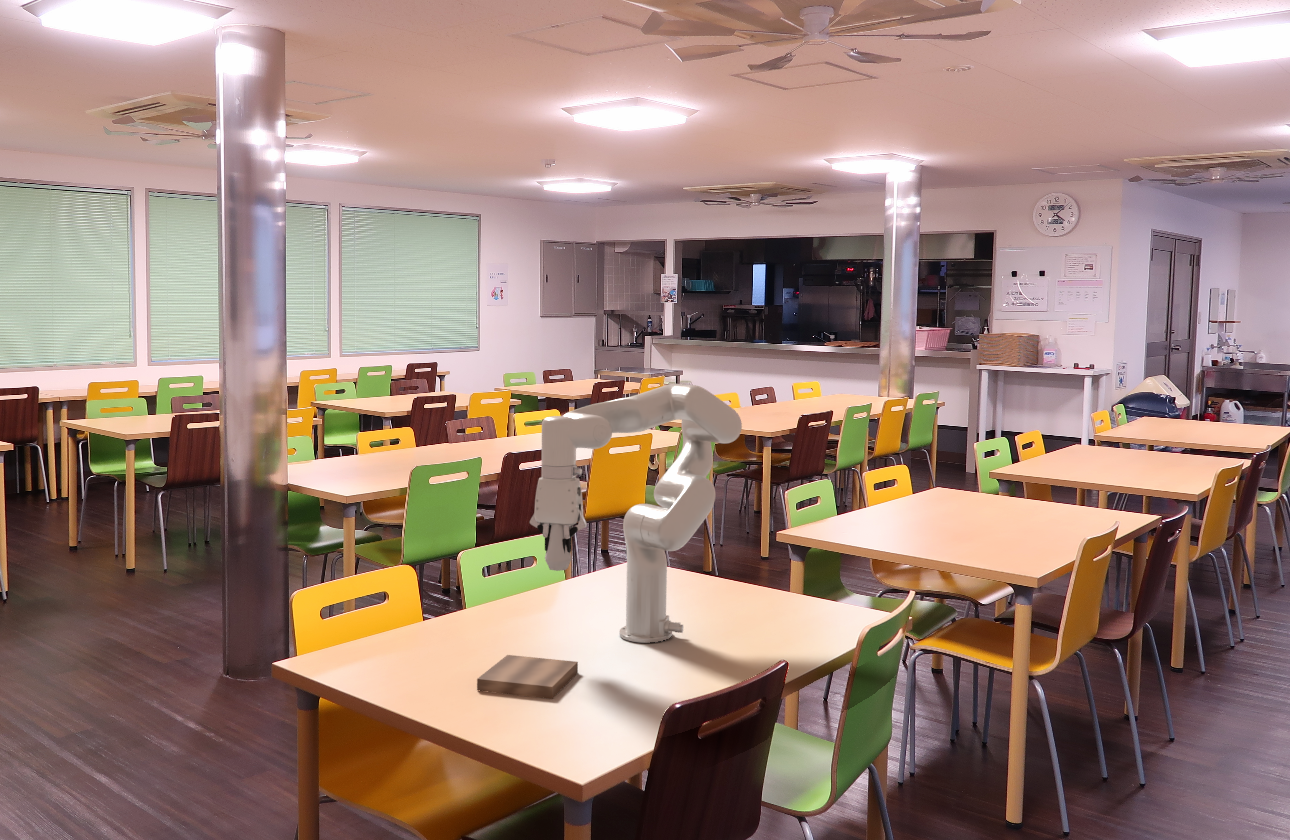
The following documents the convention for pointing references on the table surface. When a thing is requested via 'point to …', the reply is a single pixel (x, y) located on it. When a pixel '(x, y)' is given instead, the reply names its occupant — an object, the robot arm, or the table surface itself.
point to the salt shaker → (557, 550)
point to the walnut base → (528, 676)
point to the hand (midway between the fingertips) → (558, 554)
